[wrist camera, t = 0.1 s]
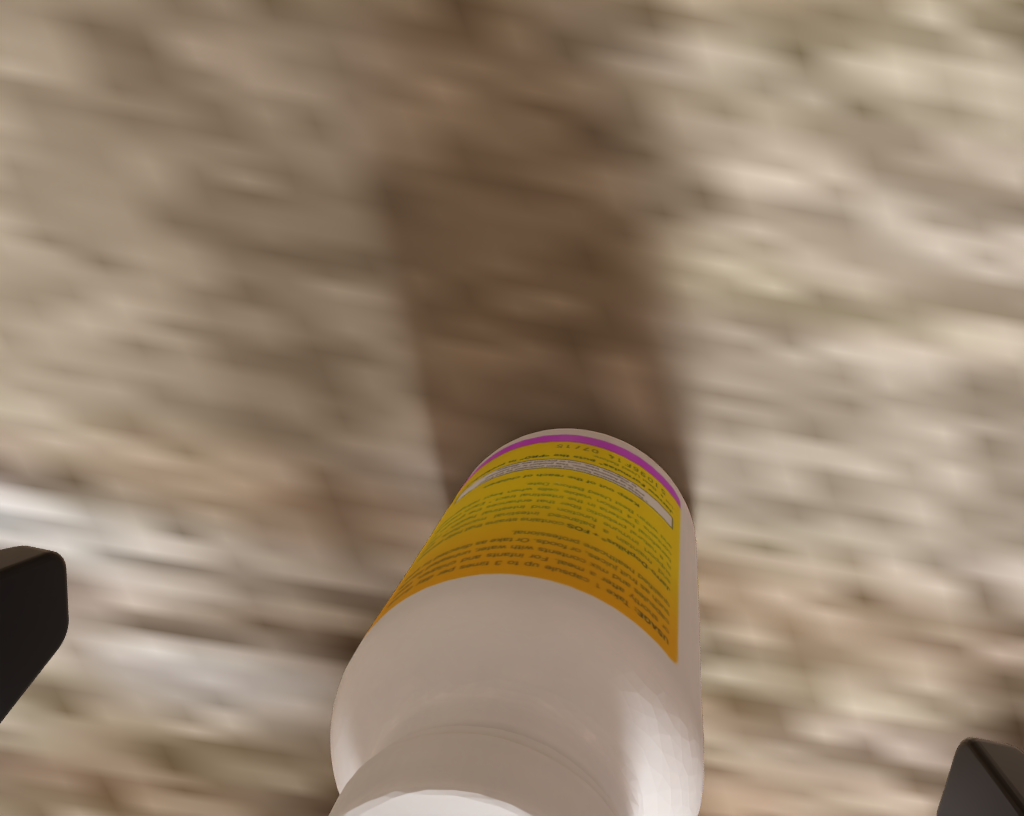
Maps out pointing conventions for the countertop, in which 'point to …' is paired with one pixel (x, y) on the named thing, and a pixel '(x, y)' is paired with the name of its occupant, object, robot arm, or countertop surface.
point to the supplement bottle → (535, 649)
